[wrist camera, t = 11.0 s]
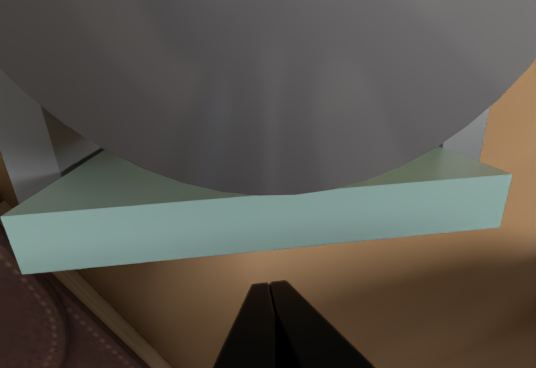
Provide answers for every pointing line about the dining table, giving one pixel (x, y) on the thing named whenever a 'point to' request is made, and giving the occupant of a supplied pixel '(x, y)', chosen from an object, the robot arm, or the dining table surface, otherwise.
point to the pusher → (240, 213)
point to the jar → (267, 81)
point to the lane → (82, 149)
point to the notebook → (62, 321)
